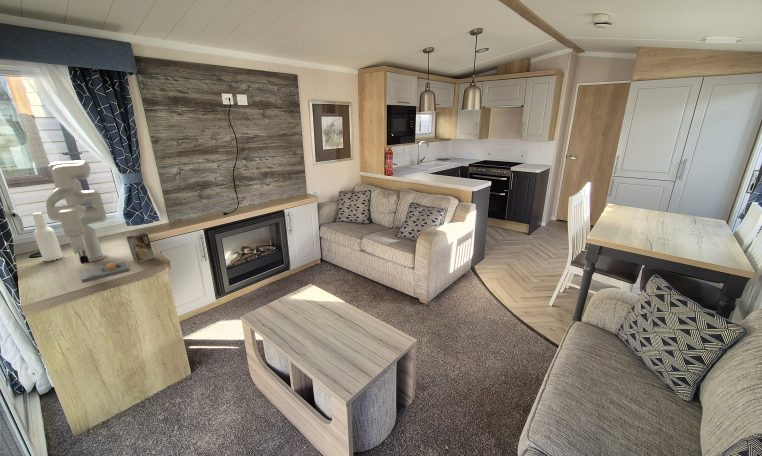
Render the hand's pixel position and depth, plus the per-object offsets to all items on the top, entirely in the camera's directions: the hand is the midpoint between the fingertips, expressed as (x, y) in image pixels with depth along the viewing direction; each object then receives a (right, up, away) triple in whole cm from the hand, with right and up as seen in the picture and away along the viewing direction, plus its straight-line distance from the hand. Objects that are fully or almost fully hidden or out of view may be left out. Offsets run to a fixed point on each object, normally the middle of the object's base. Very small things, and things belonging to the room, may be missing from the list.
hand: (85, 262), depth 173 cm
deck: (+6, -6, +6) cm, 10 cm away
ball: (+8, -3, +7) cm, 11 cm away
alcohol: (-43, 0, +25) cm, 50 cm away
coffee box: (+15, -1, +22) cm, 27 cm away
